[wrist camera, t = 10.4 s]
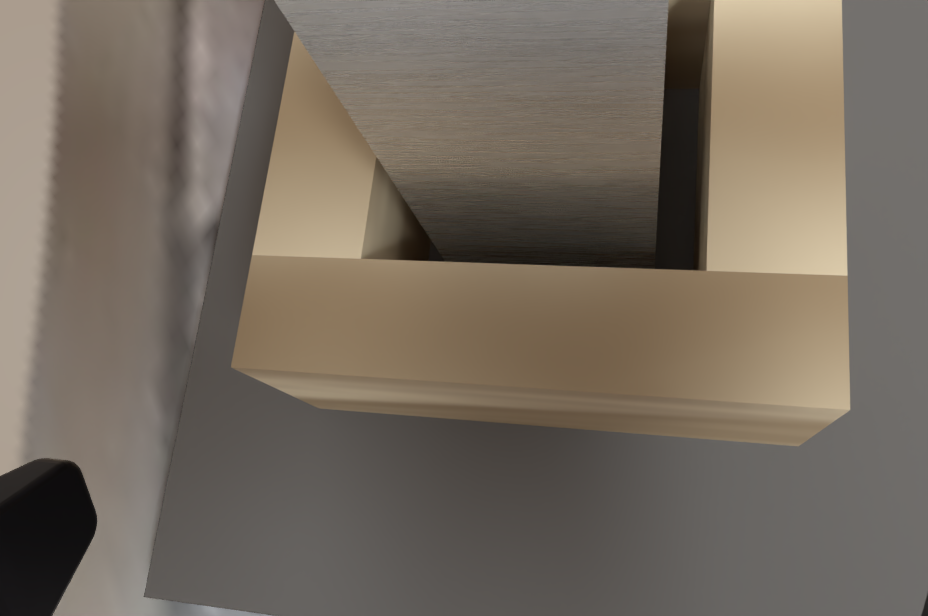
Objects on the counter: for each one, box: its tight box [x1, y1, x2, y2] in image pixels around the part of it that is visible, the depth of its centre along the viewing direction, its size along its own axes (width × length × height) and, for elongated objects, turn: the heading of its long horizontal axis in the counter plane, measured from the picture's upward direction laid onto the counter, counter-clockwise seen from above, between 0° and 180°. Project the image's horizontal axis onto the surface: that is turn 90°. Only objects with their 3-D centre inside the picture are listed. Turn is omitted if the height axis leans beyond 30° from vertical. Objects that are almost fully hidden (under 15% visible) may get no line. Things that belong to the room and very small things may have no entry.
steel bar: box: [274, 0, 669, 269], centre depth 12 cm, size 4×4×12 cm
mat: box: [144, 0, 928, 616], centre depth 18 cm, size 18×16×1 cm
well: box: [231, 0, 850, 446], centre depth 16 cm, size 10×10×4 cm
